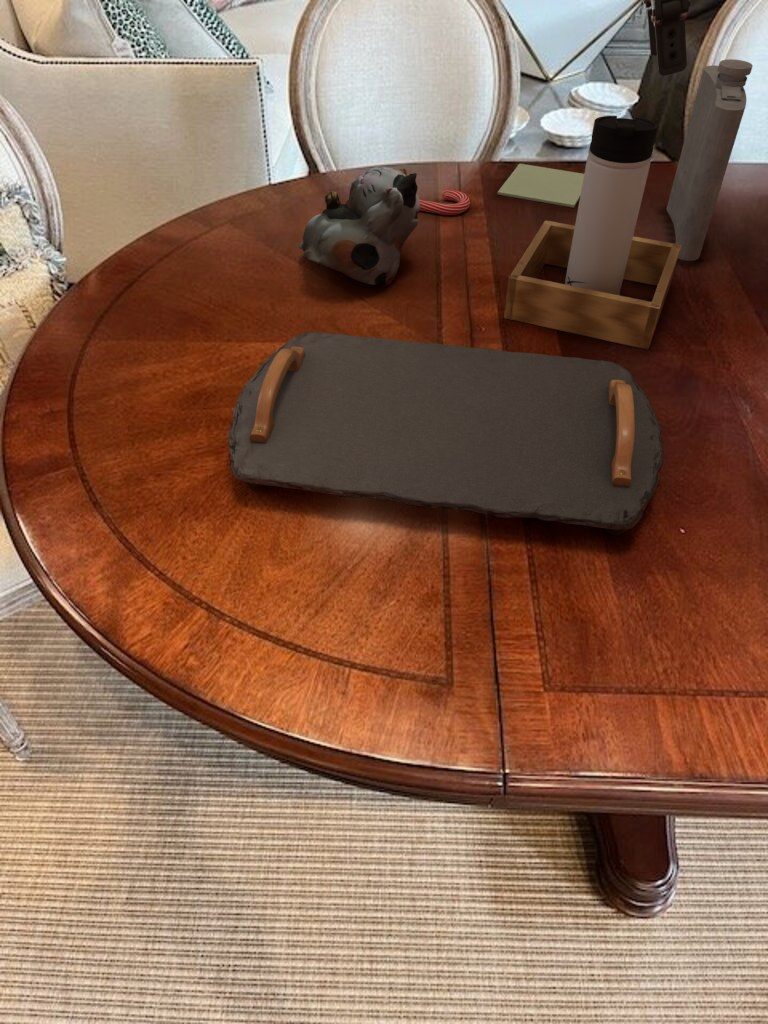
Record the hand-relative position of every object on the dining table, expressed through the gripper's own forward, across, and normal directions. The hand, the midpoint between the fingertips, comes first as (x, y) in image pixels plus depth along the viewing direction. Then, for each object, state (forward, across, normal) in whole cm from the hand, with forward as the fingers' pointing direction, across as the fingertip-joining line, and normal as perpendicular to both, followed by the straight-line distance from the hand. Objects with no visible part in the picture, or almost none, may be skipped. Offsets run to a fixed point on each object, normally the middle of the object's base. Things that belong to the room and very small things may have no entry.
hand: (667, 62), depth 68 cm
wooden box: (+24, +6, +10) cm, 26 cm away
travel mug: (+24, +6, +10) cm, 27 cm away
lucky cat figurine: (+15, +10, +36) cm, 41 cm away
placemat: (+20, +38, +15) cm, 45 cm away
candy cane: (+15, +28, +32) cm, 45 cm away
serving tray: (+22, -21, +23) cm, 38 cm away
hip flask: (+26, +26, -3) cm, 37 cm away
